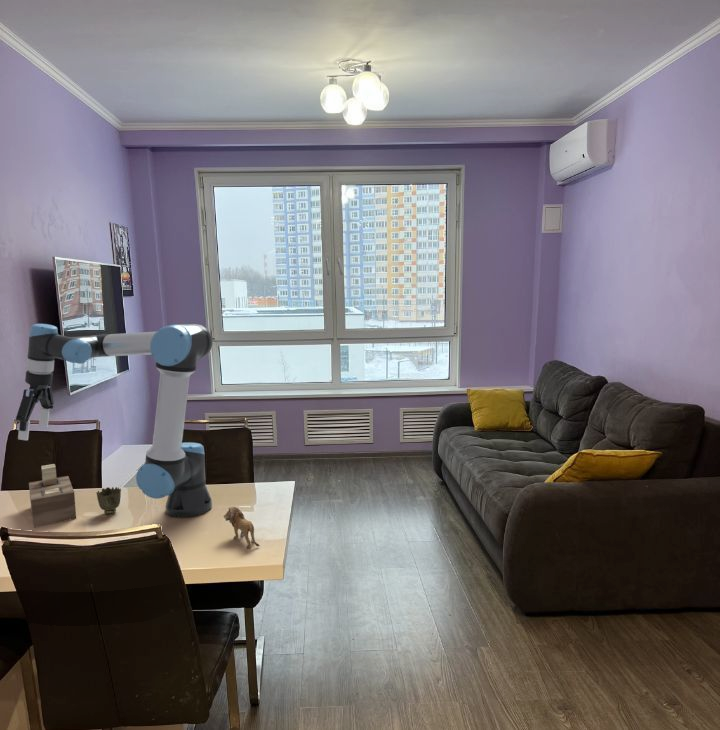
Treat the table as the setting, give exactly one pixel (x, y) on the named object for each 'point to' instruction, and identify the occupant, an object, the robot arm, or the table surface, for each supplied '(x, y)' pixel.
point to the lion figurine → (240, 524)
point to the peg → (49, 474)
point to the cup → (109, 499)
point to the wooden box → (52, 502)
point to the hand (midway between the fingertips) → (33, 433)
